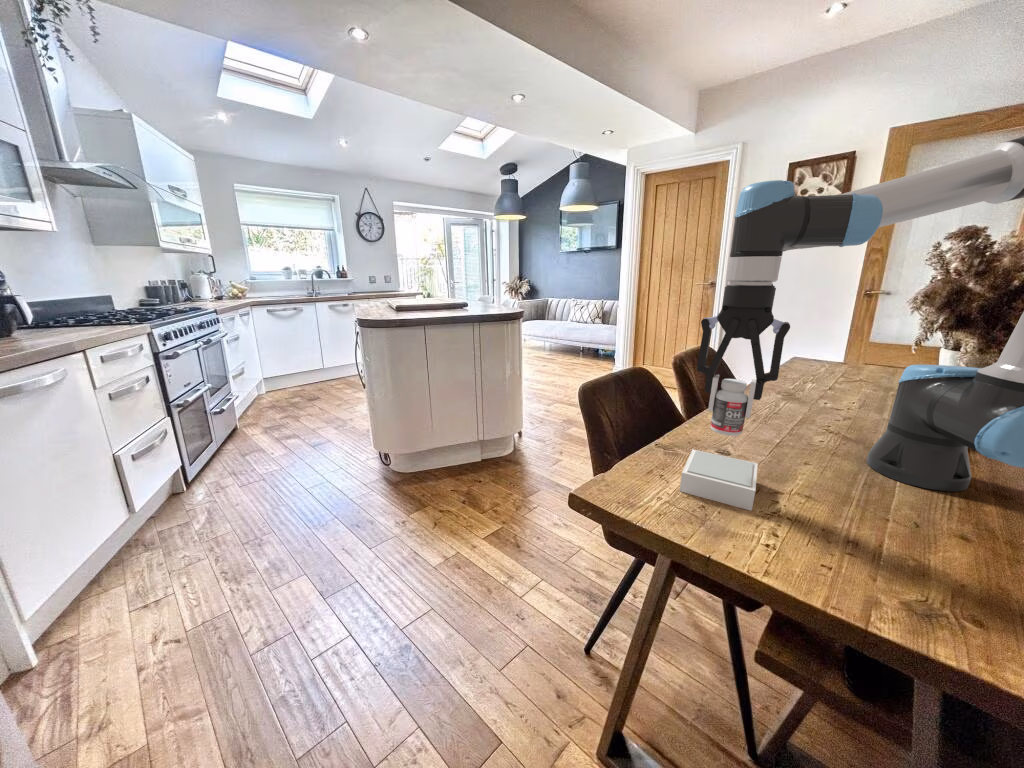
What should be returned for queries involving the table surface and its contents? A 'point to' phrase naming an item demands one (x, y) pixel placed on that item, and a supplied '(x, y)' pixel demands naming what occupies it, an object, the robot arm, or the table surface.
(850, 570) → the table surface
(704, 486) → the plinth
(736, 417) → the pill bottle
